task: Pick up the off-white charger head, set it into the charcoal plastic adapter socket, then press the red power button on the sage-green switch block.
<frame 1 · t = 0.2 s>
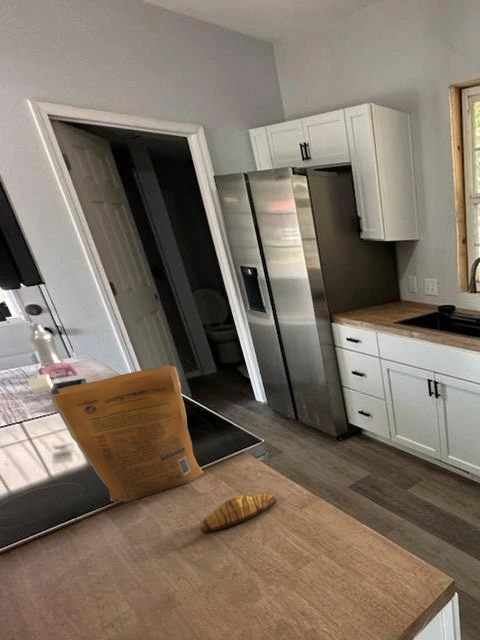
hand: (3, 319, 147), 25 cm above the worktop, tool pointing down, fingers open, 9 cm apart
charger head: (43, 389, 151), on the worktop
pancake mix bag: (160, 489, 93), on the worktop
power button: (80, 392, 139), point 3 cm above the worktop, slide at 0.1 cm
video game controller: (60, 377, 163), on the worktop
adapter: (71, 391, 149), on the worktop
croissant: (241, 518, 84), on the worktop
plastic bottle: (56, 372, 169), on the worktop
switch block: (84, 401, 141), on the worktop
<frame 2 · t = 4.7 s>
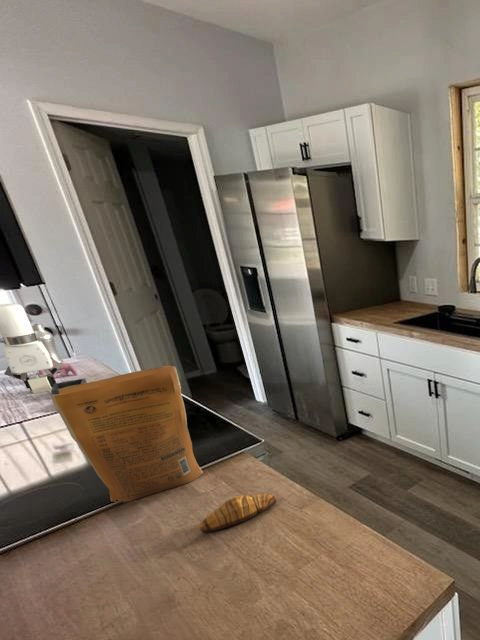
hand: (42, 387, 150), 1 cm above the worktop, tool pointing down, fingers closed on charger head, 4 cm apart
charger head: (43, 389, 151), on the worktop, touching gripper
everything else where it was.
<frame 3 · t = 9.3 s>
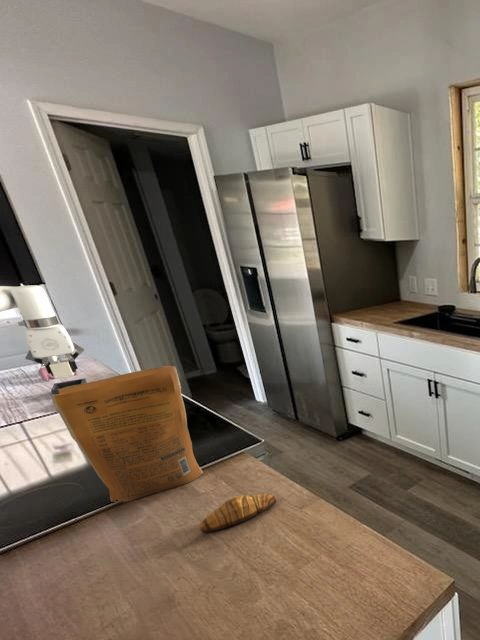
hand: (64, 372, 146), 7 cm above the worktop, tool pointing down, fingers closed on charger head, 4 cm apart
charger head: (65, 375, 146), point 6 cm above the worktop, touching gripper
everything else where it was.
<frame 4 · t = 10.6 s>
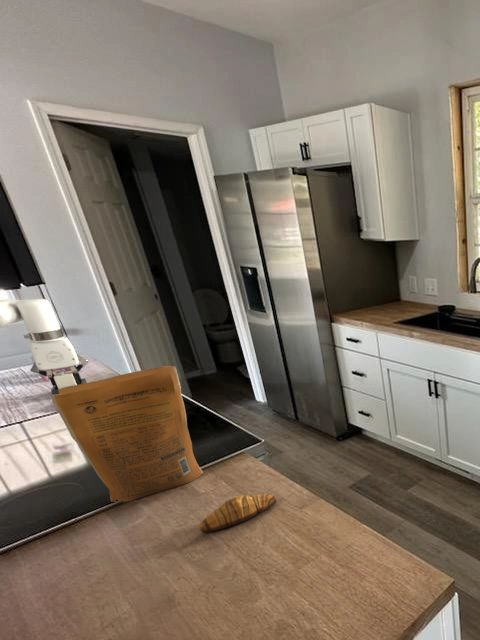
hand: (68, 384, 148), 3 cm above the worktop, tool pointing down, fingers closed on charger head, 4 cm apart
charger head: (69, 387, 148), point 2 cm above the worktop, touching gripper
everything else where it was.
when the fingers open (3 cm above the worktop, at t = 13.9 s): charger head drops 1 cm, resting on adapter.
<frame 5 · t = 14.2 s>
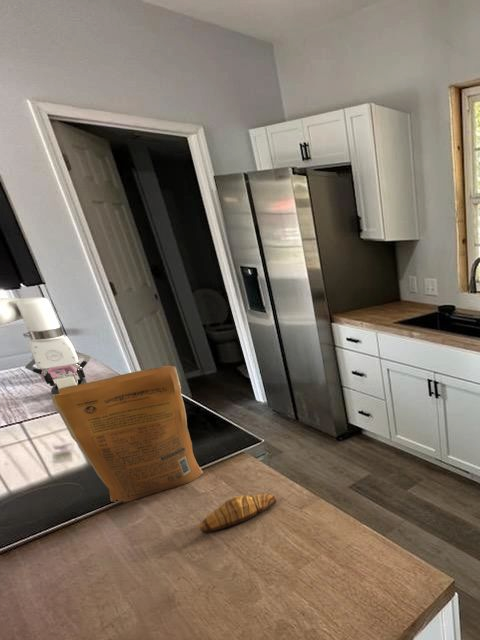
hand: (67, 382, 147), 4 cm above the worktop, tool pointing down, fingers open, 7 cm apart
charger head: (70, 389, 148), point 1 cm above the worktop, touching adapter
everything else where it was.
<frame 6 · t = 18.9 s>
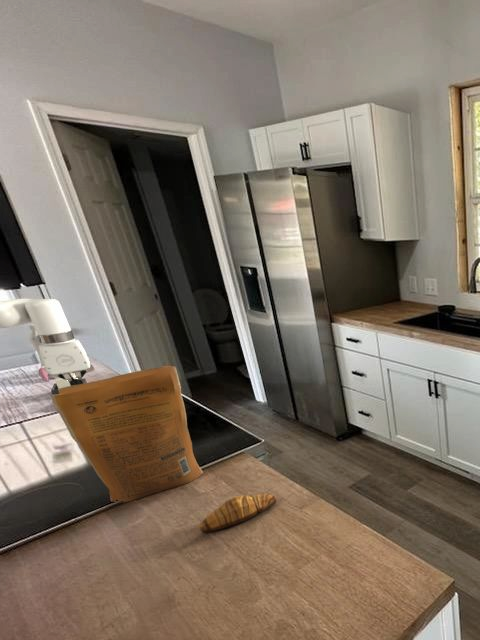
hand: (79, 390, 139), 4 cm above the worktop, tool pointing down, fingers closed
power button: (80, 392, 139), point 3 cm above the worktop, slide at -0.2 cm, touching gripper
everything else where it was.
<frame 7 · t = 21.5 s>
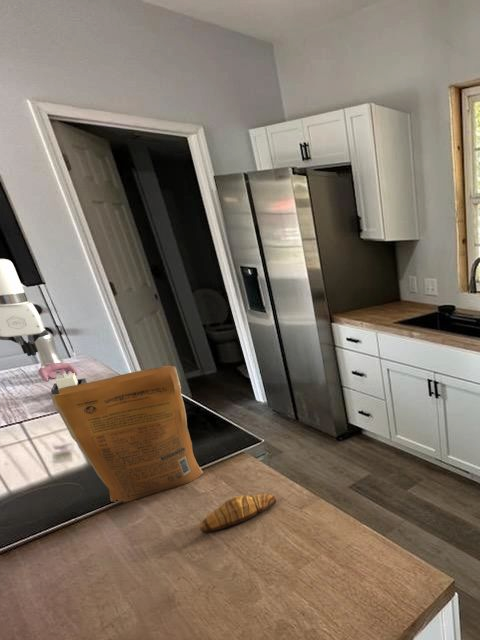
hand: (32, 354, 137), 16 cm above the worktop, tool pointing down, fingers closed
power button: (80, 392, 139), point 3 cm above the worktop, slide at 0.1 cm
everything else where it was.
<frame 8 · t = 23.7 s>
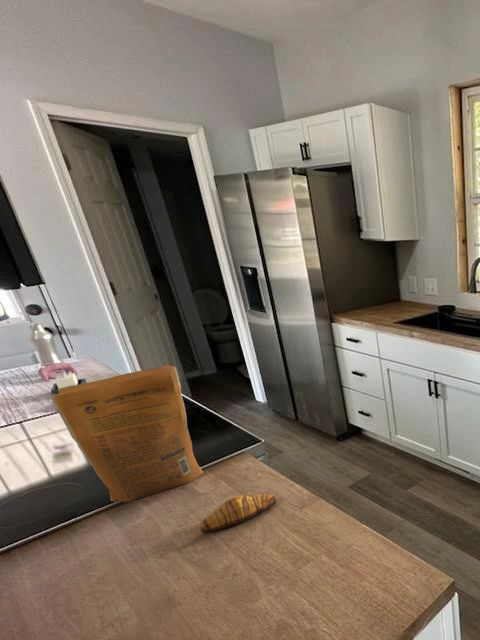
nothing on the worktop moved.
at the end: charger head 0.1 cm off-centre in the adapter, point 1.0 cm above the adapter's base; power button pushed in 1.1 cm at the most during the clip, back to where it started at the end; power button slide at 0.1 cm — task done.
